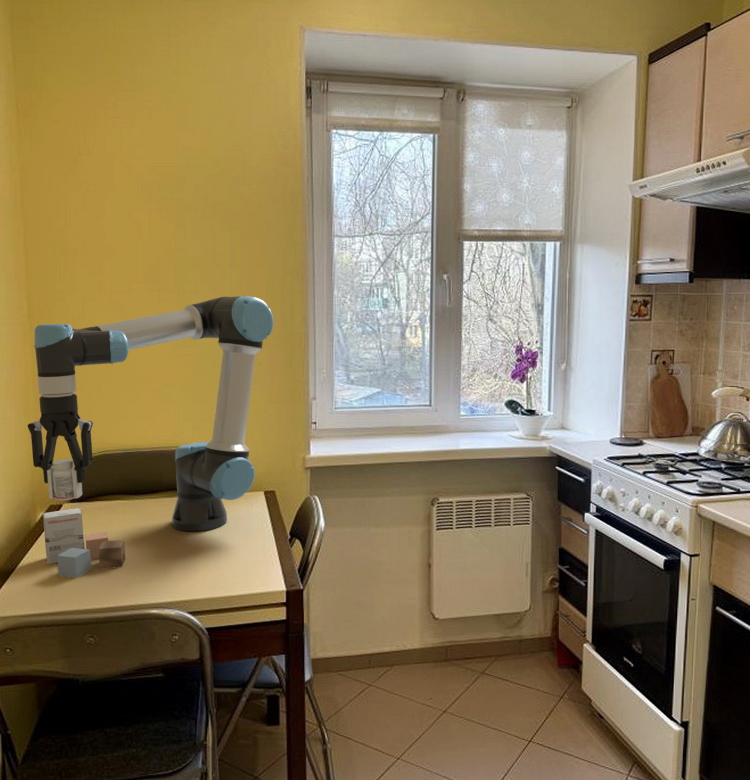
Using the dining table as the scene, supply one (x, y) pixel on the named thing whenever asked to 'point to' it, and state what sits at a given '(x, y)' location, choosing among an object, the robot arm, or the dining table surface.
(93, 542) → the terracotta cube
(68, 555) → the slate blue cube
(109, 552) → the walnut cube
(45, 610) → the dining table surface
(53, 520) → the ink box
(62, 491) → the pill bottle
